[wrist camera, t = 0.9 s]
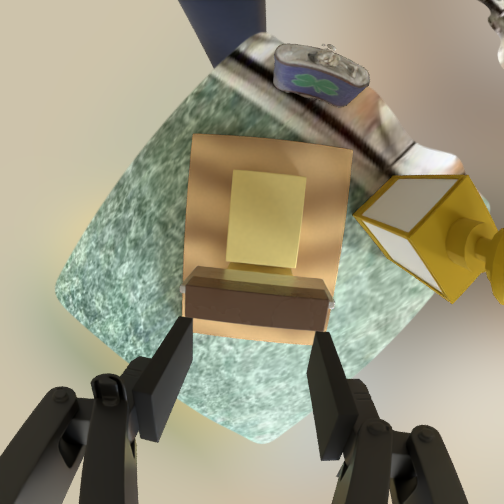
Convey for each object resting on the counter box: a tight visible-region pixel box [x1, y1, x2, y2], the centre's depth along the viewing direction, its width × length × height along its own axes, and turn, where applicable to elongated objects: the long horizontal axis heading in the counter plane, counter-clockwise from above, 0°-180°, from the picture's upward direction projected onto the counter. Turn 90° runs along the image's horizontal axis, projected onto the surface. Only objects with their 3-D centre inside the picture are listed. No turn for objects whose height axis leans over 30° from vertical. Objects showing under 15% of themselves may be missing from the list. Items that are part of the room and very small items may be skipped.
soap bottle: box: [353, 175, 504, 305], centre depth 22 cm, size 7×13×24 cm, turn 134°
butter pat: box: [227, 262, 293, 276], centre depth 33 cm, size 3×7×4 cm, turn 84°
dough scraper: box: [180, 266, 335, 332], centre depth 25 cm, size 2×12×8 cm, turn 85°
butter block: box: [226, 169, 306, 268], centre depth 31 cm, size 9×7×4 cm
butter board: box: [182, 134, 353, 345], centre depth 35 cm, size 24×18×2 cm
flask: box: [273, 44, 370, 108], centre depth 26 cm, size 9×3×11 cm, turn 75°
